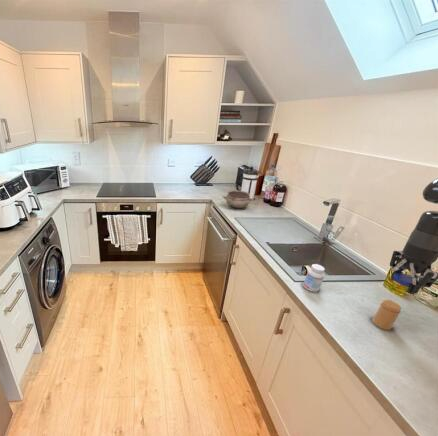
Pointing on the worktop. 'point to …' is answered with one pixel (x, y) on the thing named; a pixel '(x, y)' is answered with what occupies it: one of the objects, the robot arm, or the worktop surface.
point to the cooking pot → (238, 199)
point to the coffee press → (248, 181)
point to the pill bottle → (314, 278)
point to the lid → (402, 279)
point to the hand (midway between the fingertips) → (402, 286)
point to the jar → (386, 314)
